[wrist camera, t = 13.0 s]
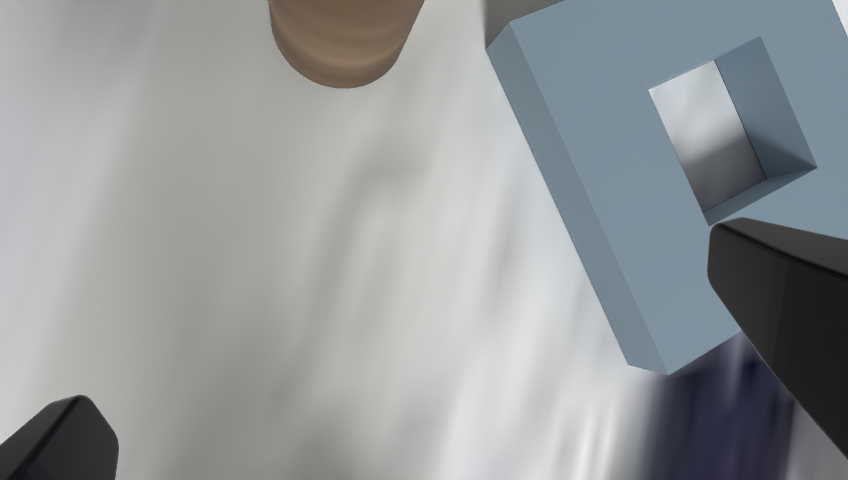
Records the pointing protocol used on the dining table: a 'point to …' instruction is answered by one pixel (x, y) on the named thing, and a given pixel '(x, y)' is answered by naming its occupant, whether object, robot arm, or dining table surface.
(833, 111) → the slate holder block
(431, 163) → the dining table surface
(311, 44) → the walnut peg
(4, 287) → the dining table surface
